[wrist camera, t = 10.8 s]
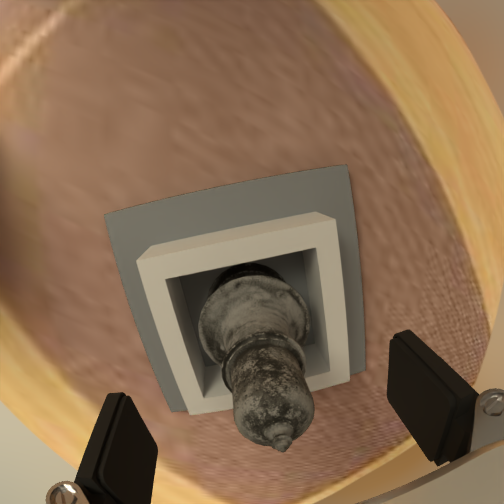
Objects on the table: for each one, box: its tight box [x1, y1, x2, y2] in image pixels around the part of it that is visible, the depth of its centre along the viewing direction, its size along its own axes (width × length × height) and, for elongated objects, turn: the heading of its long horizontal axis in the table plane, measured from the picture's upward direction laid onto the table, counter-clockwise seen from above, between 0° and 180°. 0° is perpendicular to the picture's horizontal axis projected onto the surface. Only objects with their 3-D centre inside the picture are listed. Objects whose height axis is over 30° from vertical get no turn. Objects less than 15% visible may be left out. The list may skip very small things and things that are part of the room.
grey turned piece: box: [198, 263, 315, 452], centre depth 14 cm, size 6×6×12 cm
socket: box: [104, 165, 366, 415], centre depth 18 cm, size 15×15×4 cm
